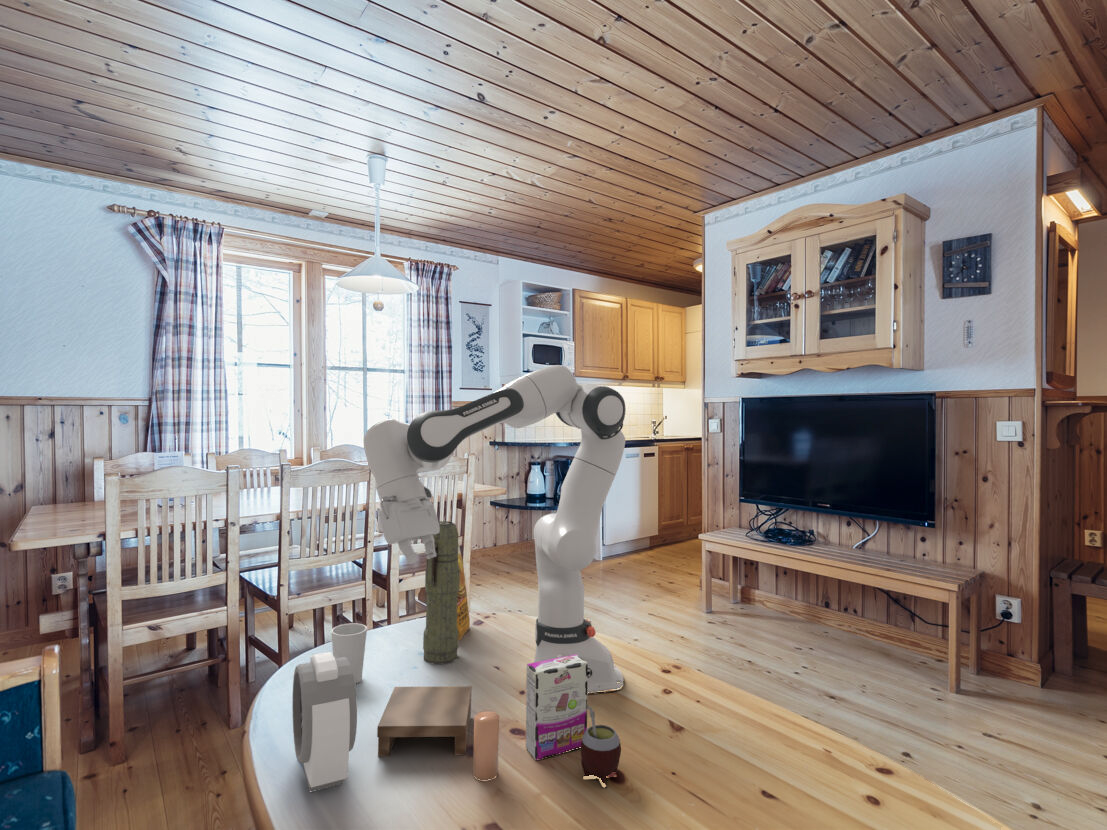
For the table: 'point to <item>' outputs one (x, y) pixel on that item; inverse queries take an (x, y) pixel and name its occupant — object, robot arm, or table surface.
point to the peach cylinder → (486, 745)
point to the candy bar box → (556, 705)
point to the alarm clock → (324, 718)
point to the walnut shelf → (426, 715)
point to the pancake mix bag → (462, 601)
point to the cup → (350, 646)
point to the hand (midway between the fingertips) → (423, 560)
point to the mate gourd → (600, 750)
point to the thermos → (442, 597)
